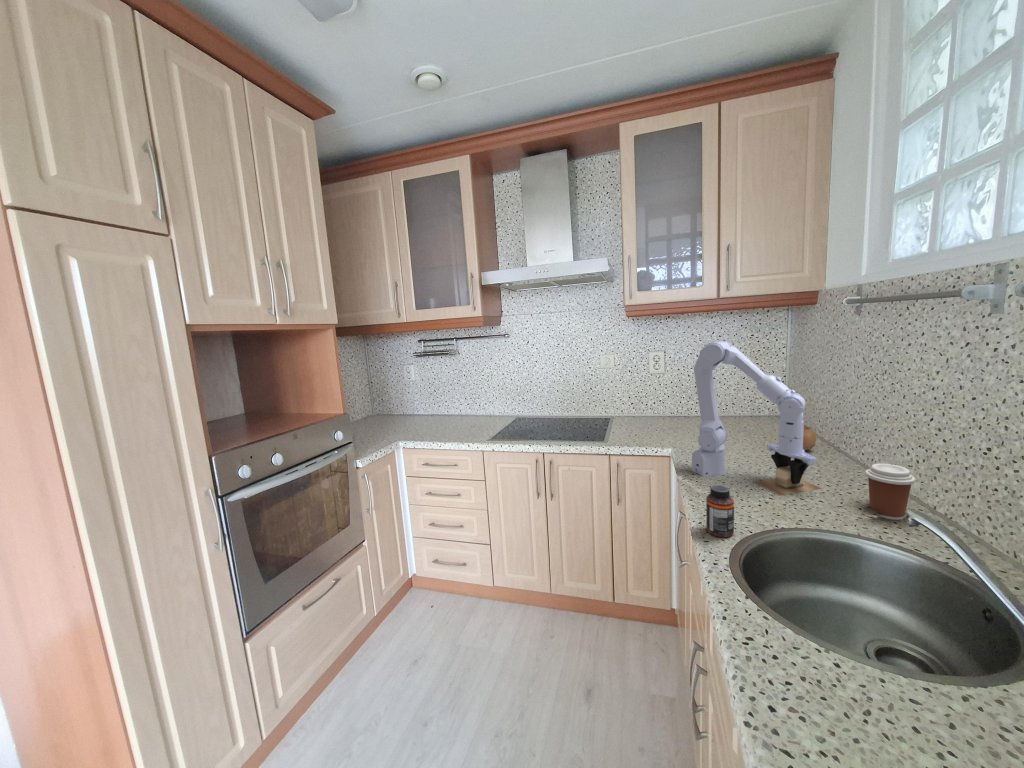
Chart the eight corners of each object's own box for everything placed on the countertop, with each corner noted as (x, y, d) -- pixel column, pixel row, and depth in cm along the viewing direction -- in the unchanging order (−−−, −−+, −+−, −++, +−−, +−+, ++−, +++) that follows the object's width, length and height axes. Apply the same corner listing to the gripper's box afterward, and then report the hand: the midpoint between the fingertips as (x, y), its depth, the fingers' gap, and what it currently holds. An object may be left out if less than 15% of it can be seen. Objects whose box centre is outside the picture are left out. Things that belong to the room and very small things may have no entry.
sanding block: (785, 488, 114) (786, 472, 113) (775, 484, 117) (775, 467, 116) (803, 485, 115) (804, 469, 114) (792, 481, 118) (793, 465, 117)
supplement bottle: (709, 523, 100) (709, 481, 98) (736, 530, 96) (736, 486, 95) (703, 534, 95) (703, 489, 94) (731, 541, 92) (731, 495, 90)
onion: (813, 448, 149) (814, 422, 148) (817, 455, 141) (818, 428, 140) (783, 445, 154) (784, 420, 153) (785, 452, 146) (786, 426, 145)
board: (779, 499, 111) (780, 494, 110) (752, 485, 120) (752, 481, 120) (822, 492, 113) (822, 488, 113) (791, 479, 123) (792, 475, 122)
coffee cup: (863, 502, 106) (866, 459, 104) (912, 511, 99) (915, 466, 98) (861, 515, 99) (864, 469, 97) (913, 526, 93) (917, 477, 91)
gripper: (826, 441, 107) (824, 488, 109) (781, 428, 122) (780, 470, 123) (804, 444, 106) (802, 491, 108) (761, 431, 120) (760, 473, 122)
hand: (789, 480), depth 116 cm, fingers closed on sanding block, 4 cm apart
